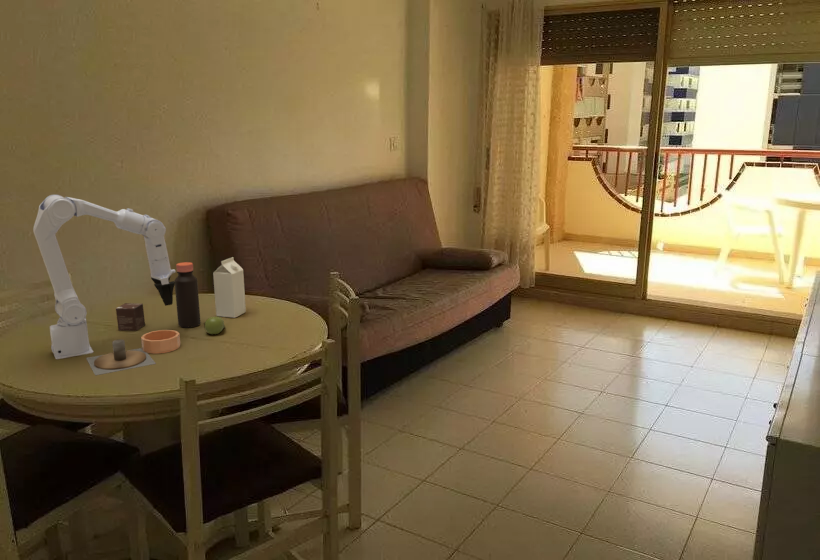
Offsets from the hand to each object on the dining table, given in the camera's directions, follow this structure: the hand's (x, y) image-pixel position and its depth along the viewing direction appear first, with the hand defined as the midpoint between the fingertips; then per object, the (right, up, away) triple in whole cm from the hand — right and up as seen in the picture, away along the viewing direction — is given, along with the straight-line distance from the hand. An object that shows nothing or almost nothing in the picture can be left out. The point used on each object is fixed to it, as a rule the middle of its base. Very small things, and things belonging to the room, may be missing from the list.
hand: (167, 301), depth 202 cm
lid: (-5, -15, -21) cm, 26 cm away
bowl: (+2, -13, -10) cm, 17 cm away
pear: (+13, -10, +6) cm, 17 cm away
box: (-14, -9, +9) cm, 19 cm away
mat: (-5, -16, -21) cm, 26 cm away
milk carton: (+13, -5, +23) cm, 27 cm away
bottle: (+3, -8, +12) cm, 14 cm away
